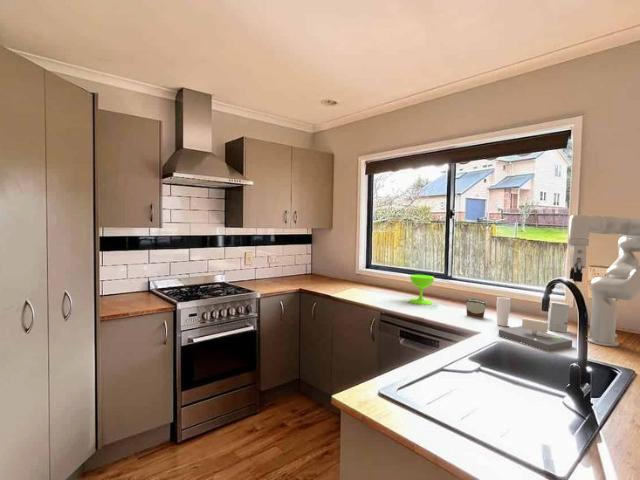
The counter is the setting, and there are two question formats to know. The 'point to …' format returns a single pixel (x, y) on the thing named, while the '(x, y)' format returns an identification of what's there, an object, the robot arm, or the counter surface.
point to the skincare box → (558, 316)
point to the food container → (475, 307)
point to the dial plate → (535, 338)
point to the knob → (536, 326)
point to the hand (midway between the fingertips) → (575, 280)
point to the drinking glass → (503, 310)
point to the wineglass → (421, 287)
